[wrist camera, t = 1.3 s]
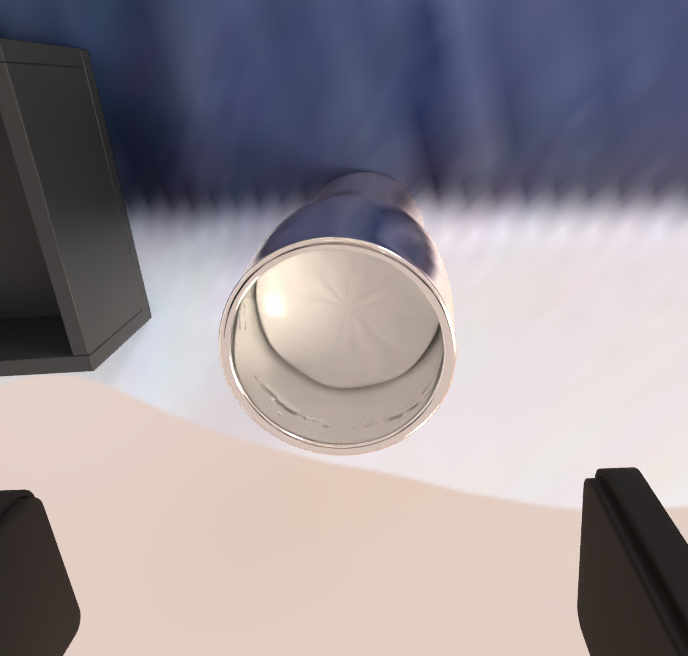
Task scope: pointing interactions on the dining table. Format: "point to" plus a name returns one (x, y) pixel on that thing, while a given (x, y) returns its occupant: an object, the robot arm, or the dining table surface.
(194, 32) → the dining table surface
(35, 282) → the bin
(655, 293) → the dining table surface
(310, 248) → the beer glass
